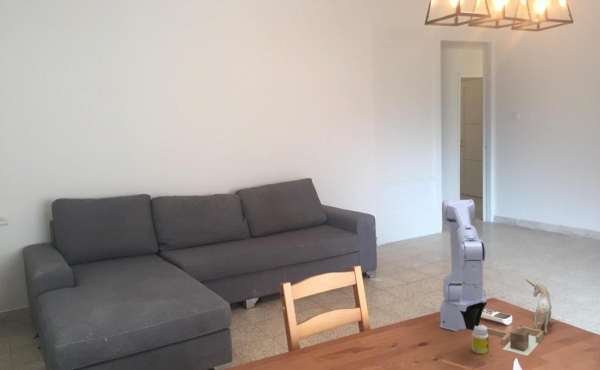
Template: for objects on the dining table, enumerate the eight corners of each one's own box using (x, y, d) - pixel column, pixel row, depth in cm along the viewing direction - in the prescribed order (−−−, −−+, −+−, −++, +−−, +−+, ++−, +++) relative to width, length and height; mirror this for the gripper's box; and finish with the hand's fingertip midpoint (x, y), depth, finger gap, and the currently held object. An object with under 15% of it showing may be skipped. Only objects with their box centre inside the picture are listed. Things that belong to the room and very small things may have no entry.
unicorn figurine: (546, 316, 175) (547, 279, 173) (561, 340, 156) (561, 299, 154) (524, 315, 176) (525, 278, 175) (536, 339, 158) (536, 298, 156)
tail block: (510, 348, 150) (510, 332, 150) (515, 343, 153) (515, 327, 153) (524, 351, 148) (524, 335, 147) (528, 346, 151) (528, 331, 150)
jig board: (473, 344, 156) (473, 335, 156) (492, 326, 168) (492, 318, 168) (527, 358, 145) (527, 349, 145) (544, 339, 157) (544, 330, 157)
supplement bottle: (489, 357, 147) (489, 330, 146) (473, 357, 148) (473, 330, 147) (487, 350, 152) (487, 324, 151) (471, 349, 153) (470, 323, 152)
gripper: (475, 292, 135) (475, 339, 137) (495, 277, 145) (495, 322, 147) (450, 287, 140) (451, 333, 141) (472, 273, 150) (472, 316, 152)
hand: (472, 327), depth 145 cm, fingers open, 3 cm apart
